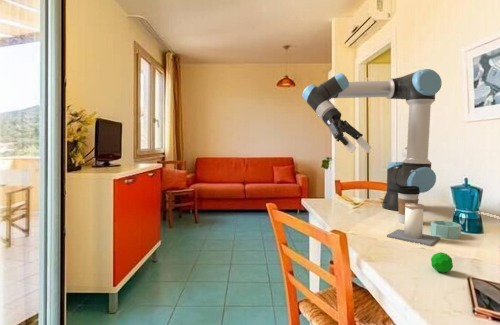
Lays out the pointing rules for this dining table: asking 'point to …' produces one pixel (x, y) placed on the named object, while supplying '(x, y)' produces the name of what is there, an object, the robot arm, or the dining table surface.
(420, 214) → the tumbler
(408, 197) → the coffee cup
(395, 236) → the mat
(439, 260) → the polyhedron
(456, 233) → the bowl
